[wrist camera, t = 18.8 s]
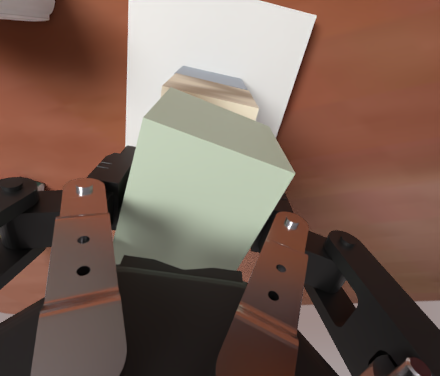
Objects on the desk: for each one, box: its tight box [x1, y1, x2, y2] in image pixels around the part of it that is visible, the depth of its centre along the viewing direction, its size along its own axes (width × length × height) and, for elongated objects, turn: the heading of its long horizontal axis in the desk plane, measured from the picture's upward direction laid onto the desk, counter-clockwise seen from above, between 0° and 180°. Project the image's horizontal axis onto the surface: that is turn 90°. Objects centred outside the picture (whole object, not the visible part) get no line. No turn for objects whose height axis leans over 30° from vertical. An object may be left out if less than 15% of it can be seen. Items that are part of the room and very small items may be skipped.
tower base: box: [125, 0, 317, 147], centre depth 22 cm, size 14×18×6 cm
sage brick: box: [113, 87, 295, 271], centre depth 12 cm, size 5×7×5 cm
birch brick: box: [161, 73, 259, 121], centre depth 17 cm, size 5×7×5 cm
